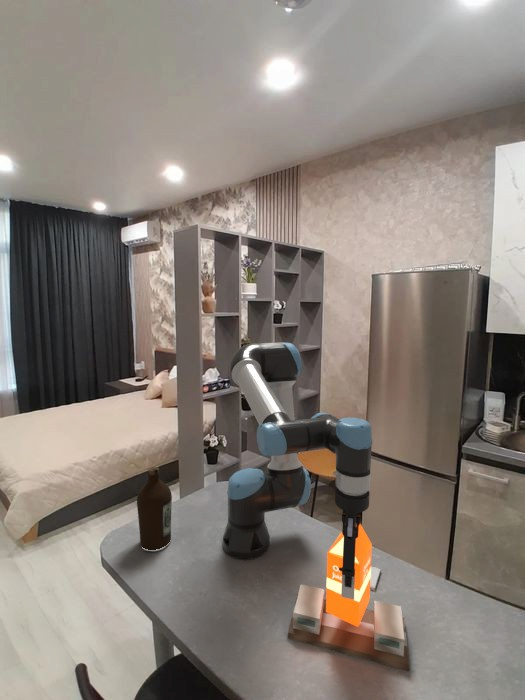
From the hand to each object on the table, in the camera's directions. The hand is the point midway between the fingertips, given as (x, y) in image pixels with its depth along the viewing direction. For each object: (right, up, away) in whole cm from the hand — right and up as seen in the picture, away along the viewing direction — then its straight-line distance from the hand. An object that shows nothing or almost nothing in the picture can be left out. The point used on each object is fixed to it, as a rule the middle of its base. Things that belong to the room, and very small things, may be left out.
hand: (349, 579), depth 84 cm
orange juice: (0, -7, +1) cm, 7 cm away
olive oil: (-54, -9, +33) cm, 64 cm away
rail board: (0, -13, +2) cm, 13 cm away
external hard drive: (+7, -12, +20) cm, 24 cm away
